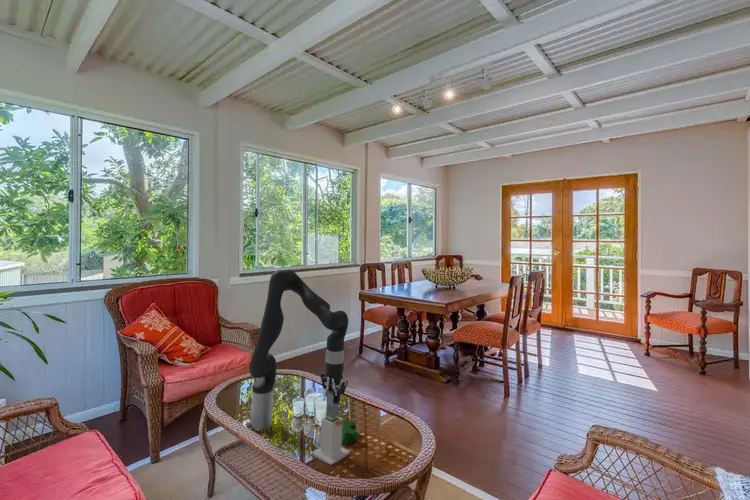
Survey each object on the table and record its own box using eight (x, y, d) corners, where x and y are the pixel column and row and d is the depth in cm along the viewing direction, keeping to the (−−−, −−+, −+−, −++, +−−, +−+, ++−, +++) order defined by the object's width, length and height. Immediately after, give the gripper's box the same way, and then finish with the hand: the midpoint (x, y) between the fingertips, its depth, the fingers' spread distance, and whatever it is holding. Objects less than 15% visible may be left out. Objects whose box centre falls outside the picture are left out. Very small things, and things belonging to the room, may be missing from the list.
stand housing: (311, 454, 150) (313, 418, 150) (330, 443, 159) (332, 409, 158) (330, 466, 144) (332, 428, 143) (349, 453, 152) (351, 418, 152)
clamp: (352, 452, 161) (358, 438, 157) (339, 450, 159) (345, 436, 156) (351, 428, 172) (358, 415, 168) (339, 426, 170) (345, 412, 167)
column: (324, 437, 151) (326, 389, 150) (331, 433, 154) (333, 387, 153) (331, 440, 148) (333, 392, 148) (337, 437, 151) (340, 389, 151)
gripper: (315, 358, 151) (314, 399, 152) (341, 366, 142) (339, 410, 143) (328, 354, 157) (327, 393, 158) (353, 362, 148) (351, 404, 149)
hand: (332, 401), depth 150 cm, fingers closed on column, 3 cm apart
